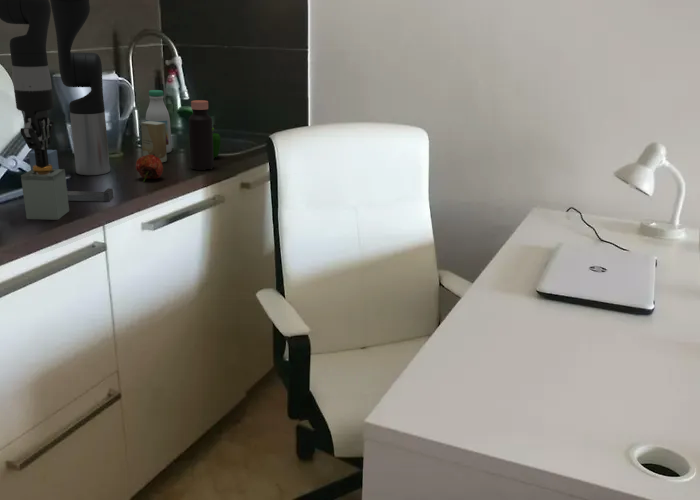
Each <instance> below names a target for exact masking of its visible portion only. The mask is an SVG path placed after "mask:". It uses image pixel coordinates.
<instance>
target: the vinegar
mask: <svg viewBox="0 0 700 500" xmlns="http://www.w3.org/2000/svg"><path fill="white" fill-rule="evenodd" d="M190 107H191V108H190V109H191V111H192V114H191V115H190V116H189V118H188V134H189V135H188V136H189V152H190V153H189V155H190V156H189V158H190V168H191V169H192V170H193V169H196V170H195V171H200V170H204V169H211V168H213V167H214V166H215V162H214V159H215V158H214V157H213V131H214V130H212V128H213V118H212V117H211V116H210V114H208V111H209V101H208V100H204V99H203V100H202V99H200V100H199V99H197V100H191V101H190ZM213 169H214V168H213ZM211 170H212V169H211ZM204 171H205V170H204Z"/></svg>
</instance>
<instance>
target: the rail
mask: <svg viewBox="0 0 700 500" xmlns="http://www.w3.org/2000/svg"><path fill="white" fill-rule="evenodd" d="M67 195H68V202H103V201H109V202H111V201H112V200H113V199H114V188H107V189H105V190H104V191H84V190H83V191H79V190H74V191H73V190H67ZM110 200H111V201H110Z"/></svg>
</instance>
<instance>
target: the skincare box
mask: <svg viewBox="0 0 700 500" xmlns="http://www.w3.org/2000/svg"><path fill="white" fill-rule="evenodd" d="M140 127H141V146H142V147H141V148H142V149H141V150H142V156H145V155H149V154H150V155H153V154H155V157H158V158H159V159H160V160H161V162H162V163H164V162H168V161H167V160H168V157H167V156H168V155H167V154H168V153H166V124H165V123H162V122H155V121H146V120H145V121H141V122H140Z"/></svg>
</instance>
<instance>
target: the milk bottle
mask: <svg viewBox="0 0 700 500" xmlns="http://www.w3.org/2000/svg"><path fill="white" fill-rule="evenodd" d="M148 96H149V103H148V107H147V109H146V111H145V112H146V113H145V122H146V121H155V122H162V123H165V124H166V154H168V153H171V152H172V150H173V149H172V147H173V146H172V131H171V130H172V129H171V128H172V127H171V119H170V113H169V110H168V109H167V107H166V104H165V101H164V98H165V95H164V91H163V90H160V89H150V90H148Z"/></svg>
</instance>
